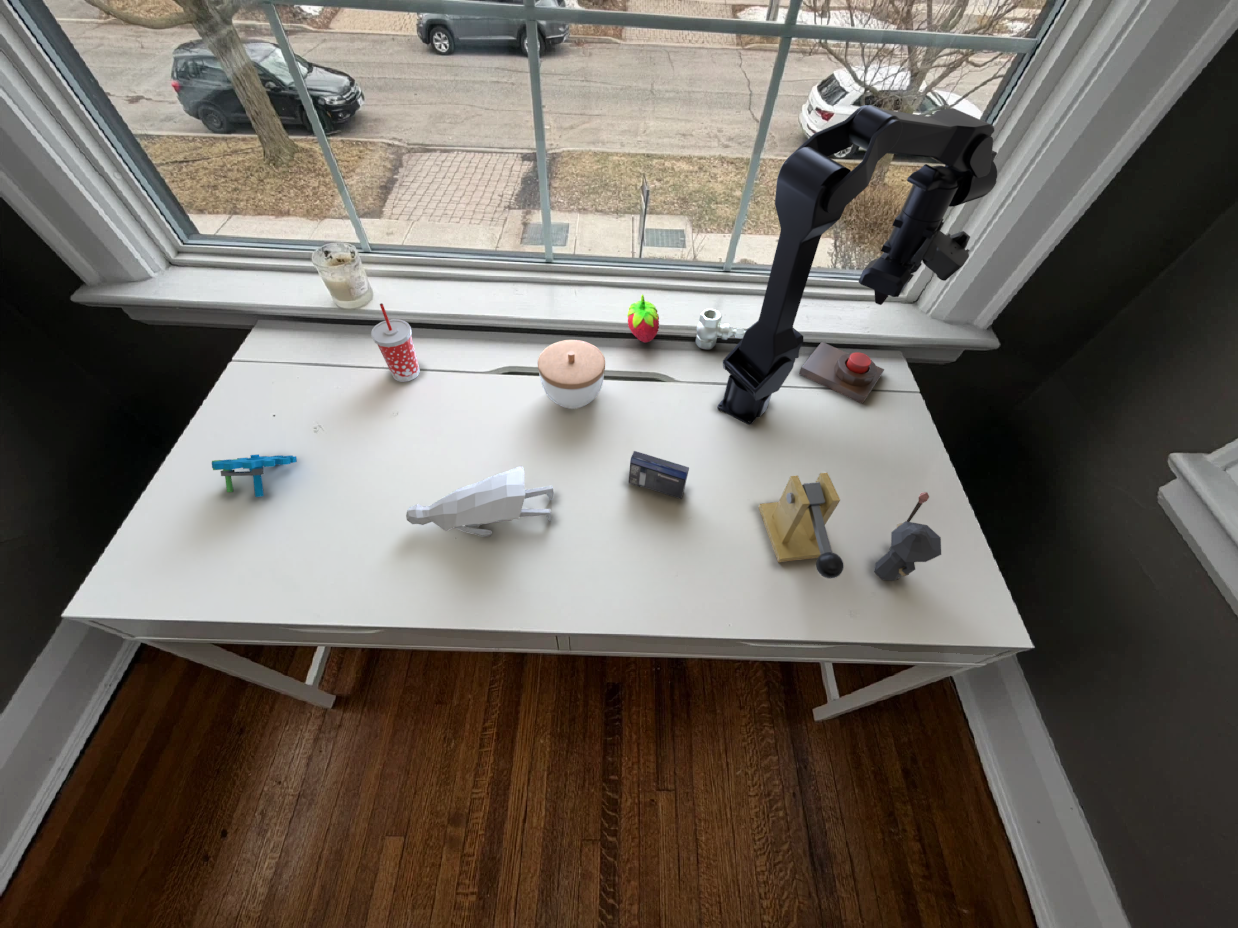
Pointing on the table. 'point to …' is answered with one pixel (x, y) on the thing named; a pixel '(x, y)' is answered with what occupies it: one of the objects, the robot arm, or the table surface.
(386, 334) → the beverage cup
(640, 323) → the strawberry
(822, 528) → the tap lever
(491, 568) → the table surface
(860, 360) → the stop button
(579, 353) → the trinket box
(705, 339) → the valve
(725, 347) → the table surface
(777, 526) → the bracket
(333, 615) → the table surface
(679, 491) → the mini dv tape
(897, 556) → the wizard figurine
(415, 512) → the superhero figure
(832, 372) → the control block
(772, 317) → the robot arm
